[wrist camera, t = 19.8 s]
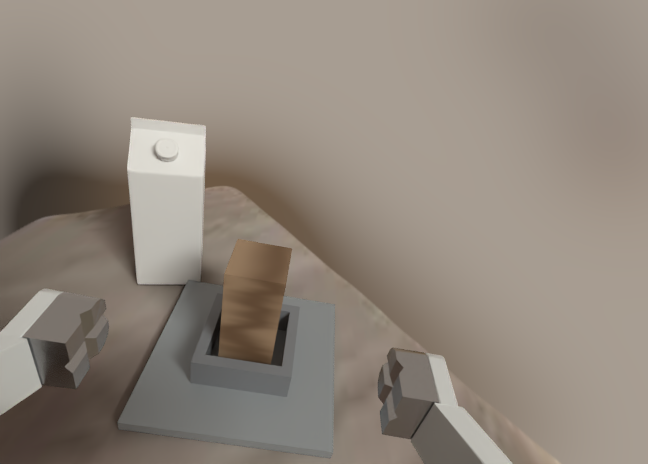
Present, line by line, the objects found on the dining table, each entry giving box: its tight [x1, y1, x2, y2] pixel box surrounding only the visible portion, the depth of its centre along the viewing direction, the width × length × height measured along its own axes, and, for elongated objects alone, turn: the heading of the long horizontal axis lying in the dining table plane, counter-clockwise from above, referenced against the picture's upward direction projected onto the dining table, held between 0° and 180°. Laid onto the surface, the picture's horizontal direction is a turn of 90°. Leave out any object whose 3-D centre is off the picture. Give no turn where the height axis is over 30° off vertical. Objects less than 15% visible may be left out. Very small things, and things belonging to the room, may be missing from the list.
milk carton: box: [127, 117, 206, 284], centre depth 45 cm, size 7×7×19 cm
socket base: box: [117, 280, 335, 458], centre depth 40 cm, size 18×18×4 cm
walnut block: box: [218, 239, 292, 365], centre depth 37 cm, size 5×5×12 cm
